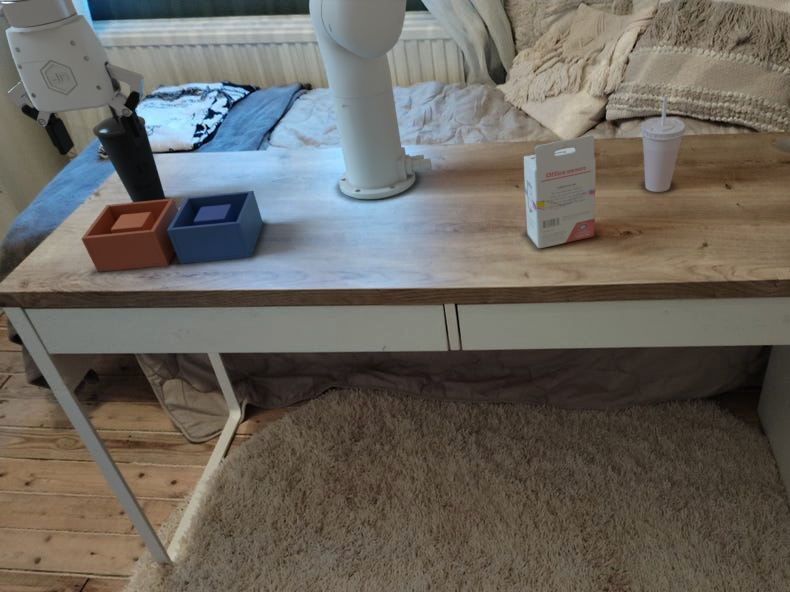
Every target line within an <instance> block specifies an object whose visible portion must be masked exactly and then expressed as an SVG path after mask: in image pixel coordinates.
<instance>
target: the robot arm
mask: <svg viewBox="0 0 790 592" xmlns="http://www.w3.org/2000/svg"><path fill="white" fill-rule="evenodd" d="M308 2H309V3H308V7H309V8H308V9H309V17H310V20H311V25H312V28H313V29H312V30H313V32H314V35H315V38H316V42H317V44H318V48H319V51H320V56H321V58H322V63H323V65H324V70H325V75H326V79H327V84H328V90H329V94H330V99H331V104H332V108H333V109H332V110H333V114H334V118H335V123H336V128H337V133H338V138H339V143H340V147H341V152H342V157H343V163H344V166H345V167H344V168H345V172H344V173H343V174H342V175H341V176H340V178H339V180H338V185H339V190H340V191H341V193H343V194H344V195H346V196H348V197H350V198H354V199H358V200H359V199H360V200H379V199H385V198H388V197H392V196H396V195H398V194H400V193H403V192H405V191H406V190H408V189H409V188H410V187H412V185H414V183H415V181H416V172H430V171H433V166H432V159H431V158H425V156H424V154H416V155H410V154H407V151H406V148H405V147H404V146H402V141H401V135H400V134H401V133H400V128H399V122H398V115H397V109H396V101H395V96H394V87H393V80H392V73H391V69H390V68H391V67H390V63H389V59H388V54H387V53H389V52H390V51H391V50H392V49H394V47H395V46H396V44H397V43H398V41H399V39H400V37H401V35H402V33H403V28H404V23H405V18H406V10H407V0H309V1H308ZM0 18H3V19H5V21H6V22H7V24H8V25H10V27H9V28H7V29H5V34H6V38H7V42H8V46H9V49H10V53H11V56H12V59H13V62H14V64H15V65H14V66H15V67H16V71H17V72H18V75H19V78H20V81H19V82H18V83H16V85H15V86H13V88H11V89H10V90H9V91H8V92H7V93H6V97H7V99H8V100H10V101H11V102H12V103H13V104H14V105H15V106H16V107H17V108H18V109H20V110H21V112H22V113H23V115H25V116H27V117H28V118H30V119H32V120H34V121H35V122H36V123H37V125H38V126H40V127H43V128H44V129H45V131H46V133H47V135H48V137H49V139H50V141H51V143H52V145H53V146H54V148H56V149H57V151H58V153H59V155H60V156H66V155H67V154H68V153H70V151H71V150H72V149H73V148H74V146H75V144H74V141H73V140H72V137H71V136H70V133H69V131H68V129H67V127H66V125H65V123H64V121H63V119H61V117H57V113H64V112H73V111H82V110H89V109H96V108H103V107H106V106H108V105H110V106H111V107H113V108H114V109H115V111H116V112H118V113H120V115H122V117H121V118H120V121H121V123H122V125H123V128H124V130H125V132H126V134H127V137H128V139H129V141H130V144H131V145H132V146H138V145H139V144H140V142H141V141H142V140H143V138H144V137H143V136H144V130H143V127H142V125H141V123H140V120H139V118H138V116H139V115H138V113H137V111H136V110H137V108H138V105H139V104H140V103H141V102H140V101H141V100H142V97H143V96H144V93H143V90H144V82H145V78H144V76H143V75H142V74H141V73H138V72H135V71H132V70H128V69H126V68H123V67H120V66H117V65H114V64H112V62H111V60H110V57H109V56H108V54H107V52H106V49H105V48H104V46H103V45H102V43H101V40H99V37H98V36H97V34H96V33H95V31H94V29H93V27H92V26H91V25H90V24H89V22H88V20H87V18H85V16H84V15H83V14H78V11H77V9H76V7H75V4H74V2H73V0H0ZM120 82H123V83H126V84H128V86H129V95H127V94H126V93H124V92H123V91H122V85H121V83H120ZM26 93H27V95H28V97H29V98H28V97H27V95H26Z"/></svg>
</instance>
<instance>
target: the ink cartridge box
mask: <svg viewBox="0 0 790 592" xmlns="http://www.w3.org/2000/svg"><path fill="white" fill-rule="evenodd" d="M596 162H597V159H596V158H595V137H594V135H592V134H588V135H585V136H580V137H574V138H568V139H563V140H558V141H557V140H556V141H553V142H549V143H544V144H538V145H536V146H535V147H534V154H531V155H525V156H524V155H523V171H524V172H523V175H524V194H525V195H524V196H525V215H526V232H527V233H526V234H527V236H528V237H529V238H530V240H531V241H532V242H533V244H535V246H536V248H538V249H543V248H548V247H552V246H553V247H554V246H557V245H561V244H565V243H571V242H575V241H580V240H584V239H588V238H592V237H594V236H595V223H596V222H595V221H596V220H595V219H596V218H595V217H596V216H595V215H596V169H597V168H596V167H597V165H596Z"/></svg>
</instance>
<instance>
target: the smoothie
mask: <svg viewBox="0 0 790 592" xmlns="http://www.w3.org/2000/svg"><path fill="white" fill-rule="evenodd" d="M662 99H663V100H662V111H661V117H653V118H648V119H646V120H645V121H643V122H642V123H641V125H640V130H639V131H640V134H641V136H642V148H643V149H642V151H643V152H642V153H643V165H644V166H643V167H644V185H645V189H647V191H650V192H653V193H654V192H655V193H662V192H666V191H669V189H670V188H671V184H672V180H673V176H674V171H675V168H676V162H677V158H678V154H679V150H680V146H681V143H682V138H683V136H684V135H685V133H686V124H685V123H684V122H683V121H682V120H681V119H677V118H673V117H667V108H668V95H664V96H663V98H662Z"/></svg>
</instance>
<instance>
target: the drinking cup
mask: <svg viewBox="0 0 790 592" xmlns="http://www.w3.org/2000/svg"><path fill="white" fill-rule="evenodd" d="M107 107H108V108H109V111H110V113H111V116H108V117H107V118H105V119H103V120H102V121H100V123H98V124H96V125H95V126H94V127H93V128H92V133H93V135H94V136H95V137H97V139H98V141H99V143H100V144H101V146H102V148H103V150H104V152H105V153H106V155H107V158H108V159H109V161H110V162H111V164H112V166H113V169H114V170H115V172H116V174H117V175H118V178H119V179H120V181H121V183H122V185H123V187H124V189H125V191H126V192H127V194H128V196H129V198H130V200H131V202H142V201H153V200H163V199H167V198H166V195H165V192H164V188H163V184H162V181H161V177H160V174H159V171H158V167H157V163H156V160H155V156H154V153H153V150H152V146H151V143H150V140H149V136H148V133H147V129H146V120H145V118H144V117H143V116H139V115H138V118H139V120H140V123H141V125H142V127H143V130H144V136H143V137H144V138H143V140H142V141H141V142H140V144H139V145H138V146H132V145H131V144H130V141H129V139H128V137H127V134H126V132H125V130H124V128H123V125H122V123H121V121H120V118H121V117H122V114H118V113H117V110H115V109H114V108H113V107H111V106H110V105H107Z"/></svg>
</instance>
